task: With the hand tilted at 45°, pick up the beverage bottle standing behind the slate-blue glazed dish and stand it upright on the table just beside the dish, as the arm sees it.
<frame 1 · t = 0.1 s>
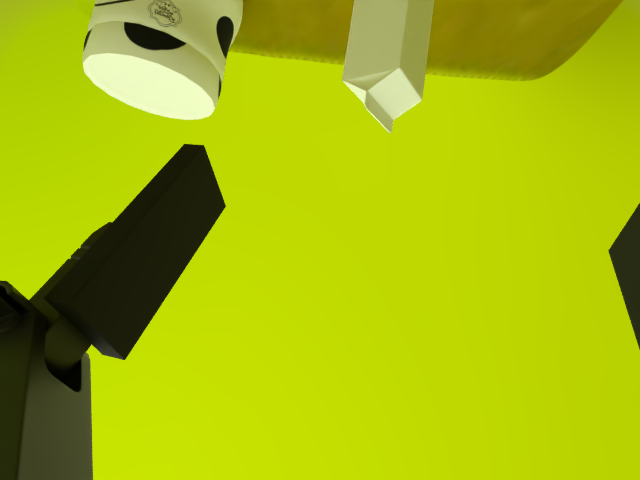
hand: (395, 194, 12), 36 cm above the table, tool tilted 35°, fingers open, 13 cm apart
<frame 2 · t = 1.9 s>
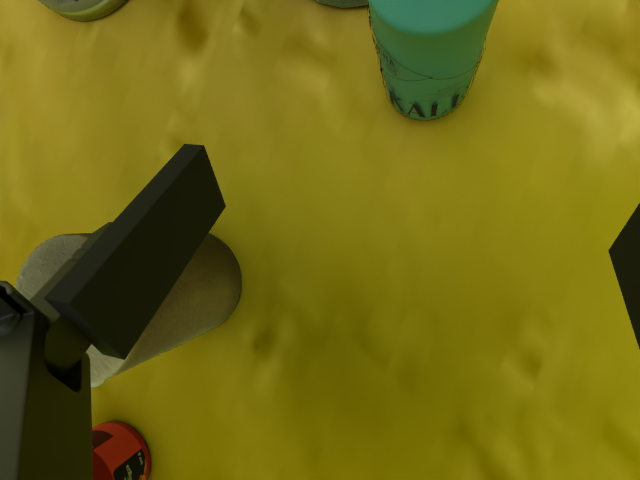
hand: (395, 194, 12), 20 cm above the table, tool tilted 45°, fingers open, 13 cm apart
pillar candle: (197, 282, 37), on the table
beverage bottle: (427, 90, 31), on the table
canned food: (122, 455, 40), on the table
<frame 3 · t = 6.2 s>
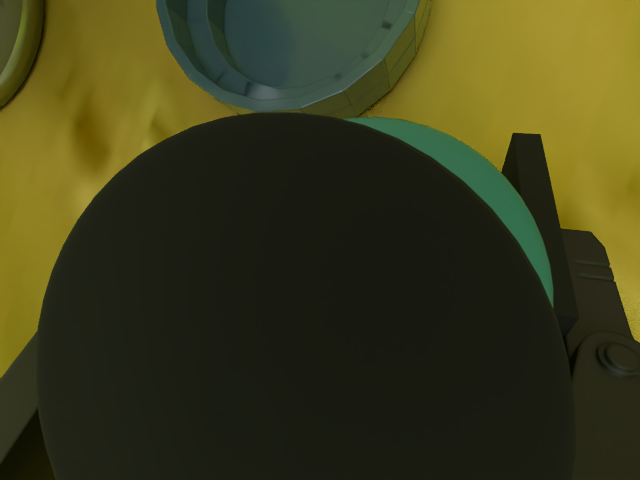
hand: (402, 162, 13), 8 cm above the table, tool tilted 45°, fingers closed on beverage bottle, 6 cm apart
beverage bottle: (401, 253, 22), on the table, touching gripper
dish: (307, 15, 23), on the table
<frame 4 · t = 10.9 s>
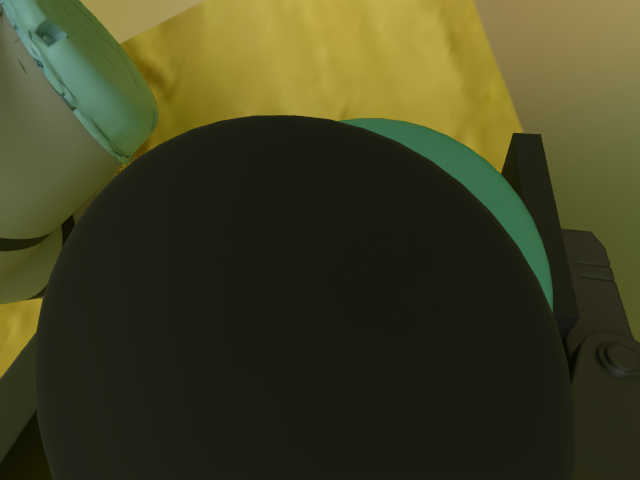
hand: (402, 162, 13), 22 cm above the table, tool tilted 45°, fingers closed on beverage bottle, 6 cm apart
beverage bottle: (400, 253, 22), point 14 cm above the table, touching gripper
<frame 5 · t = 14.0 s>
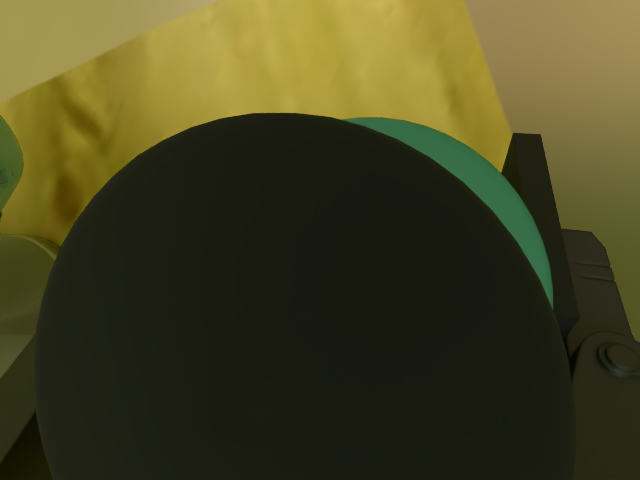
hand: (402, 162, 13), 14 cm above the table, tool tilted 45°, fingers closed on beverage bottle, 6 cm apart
beverage bottle: (400, 253, 22), point 6 cm above the table, touching gripper
when the fingers open (8 cm above the table, at t = 16.0 s): beverage bottle stays where it is, on the table.
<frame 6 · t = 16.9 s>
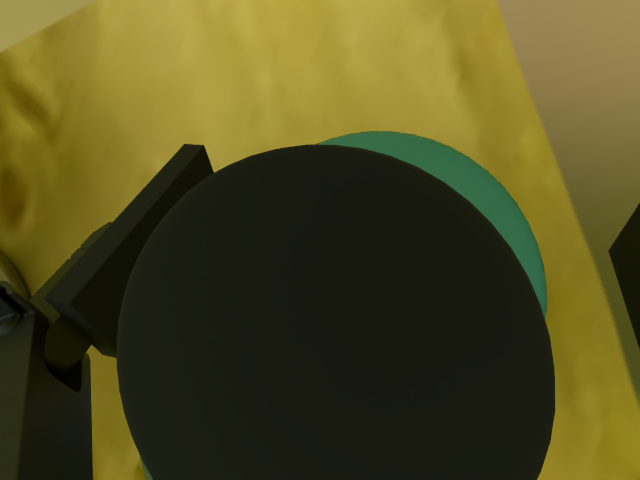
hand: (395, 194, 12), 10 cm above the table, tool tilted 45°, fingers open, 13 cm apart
beverage bottle: (403, 253, 22), on the table
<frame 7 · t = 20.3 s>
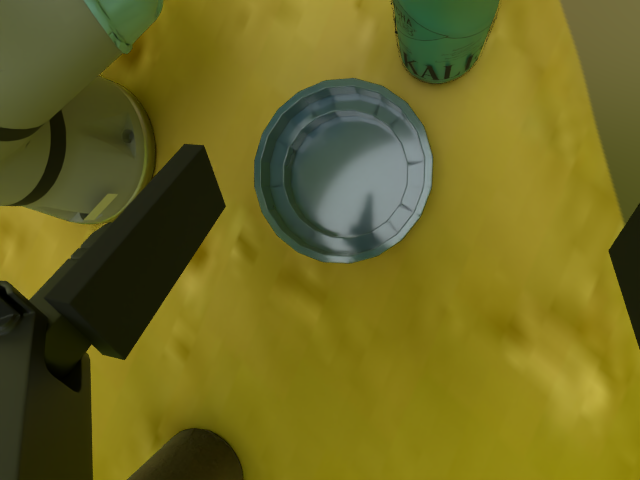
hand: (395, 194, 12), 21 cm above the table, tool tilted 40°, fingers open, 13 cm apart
pillar candle: (203, 470, 41), on the table
beverage bottle: (439, 53, 31), on the table
dish: (348, 177, 34), on the table
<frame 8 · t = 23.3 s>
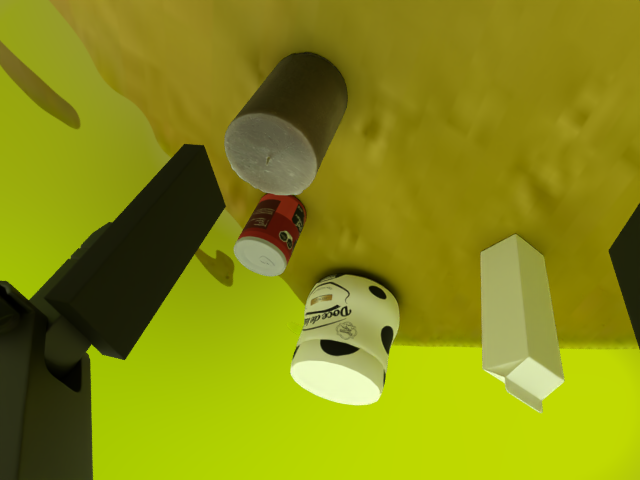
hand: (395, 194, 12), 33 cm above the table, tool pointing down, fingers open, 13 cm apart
milk container: (356, 293, 73), on the table
pillar candle: (309, 93, 46), on the table
canned food: (284, 207, 62), on the table
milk: (511, 252, 56), on the table
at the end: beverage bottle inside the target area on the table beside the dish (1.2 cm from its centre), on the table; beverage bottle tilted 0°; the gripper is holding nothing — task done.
